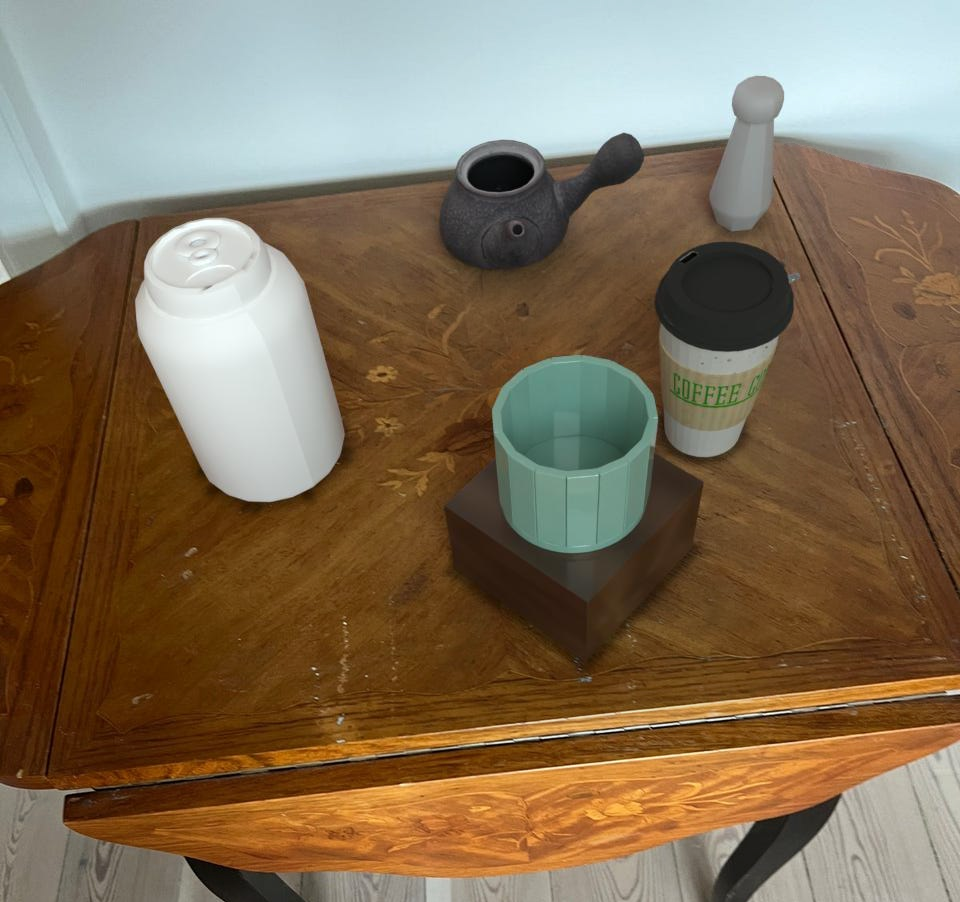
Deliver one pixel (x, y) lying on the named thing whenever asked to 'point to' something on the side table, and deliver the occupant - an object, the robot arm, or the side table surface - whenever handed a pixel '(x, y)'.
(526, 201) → the teapot
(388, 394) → the side table surface
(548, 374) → the green cup
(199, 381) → the can
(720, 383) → the coffee cup
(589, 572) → the block
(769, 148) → the salt shaker
